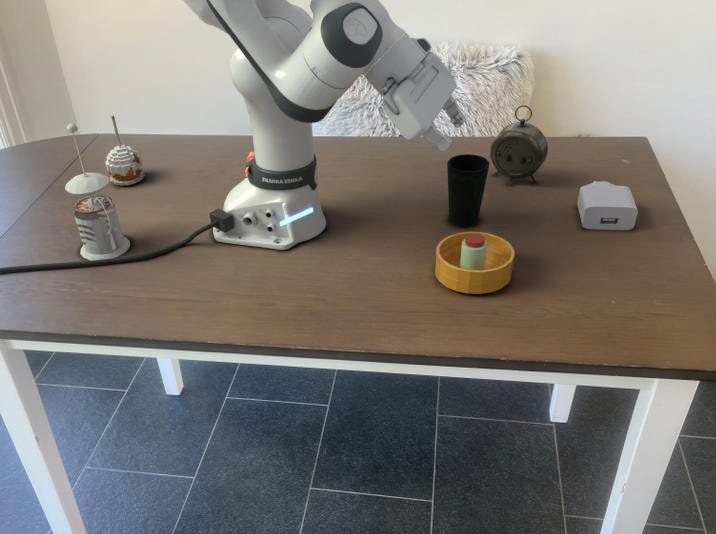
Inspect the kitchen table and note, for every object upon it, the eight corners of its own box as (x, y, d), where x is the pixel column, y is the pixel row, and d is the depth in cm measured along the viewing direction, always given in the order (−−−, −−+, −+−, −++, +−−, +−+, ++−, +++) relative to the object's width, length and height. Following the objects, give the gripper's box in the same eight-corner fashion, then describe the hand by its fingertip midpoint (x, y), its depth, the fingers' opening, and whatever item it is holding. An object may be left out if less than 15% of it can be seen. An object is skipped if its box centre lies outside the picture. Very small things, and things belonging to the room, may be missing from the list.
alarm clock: (543, 180, 151) (555, 104, 140) (535, 191, 147) (547, 114, 137) (493, 171, 155) (502, 96, 145) (484, 181, 152) (492, 106, 142)
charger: (621, 193, 144) (633, 230, 133) (573, 192, 146) (581, 229, 135) (626, 171, 141) (639, 207, 130) (577, 170, 143) (586, 206, 132)
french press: (112, 229, 146) (80, 109, 130) (145, 248, 140) (115, 124, 124) (70, 249, 141) (31, 126, 125) (102, 269, 135) (65, 142, 119)
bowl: (435, 295, 121) (436, 271, 118) (434, 255, 131) (436, 231, 128) (513, 297, 119) (517, 272, 116) (507, 256, 129) (511, 232, 126)
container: (459, 279, 124) (462, 244, 119) (459, 266, 127) (462, 231, 122) (484, 280, 123) (488, 244, 118) (483, 266, 126) (487, 231, 122)
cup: (487, 214, 141) (493, 156, 134) (477, 232, 136) (483, 174, 128) (449, 208, 144) (453, 152, 136) (438, 226, 139) (442, 168, 131)
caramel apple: (148, 182, 162) (134, 117, 152) (114, 190, 160) (97, 125, 150) (140, 169, 168) (126, 106, 158) (108, 177, 166) (91, 113, 156)
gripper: (391, 78, 102) (454, 150, 105) (428, 35, 116) (483, 99, 119) (362, 106, 106) (423, 175, 109) (401, 61, 120) (455, 123, 123)
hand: (455, 135), depth 114 cm, fingers open, 8 cm apart
